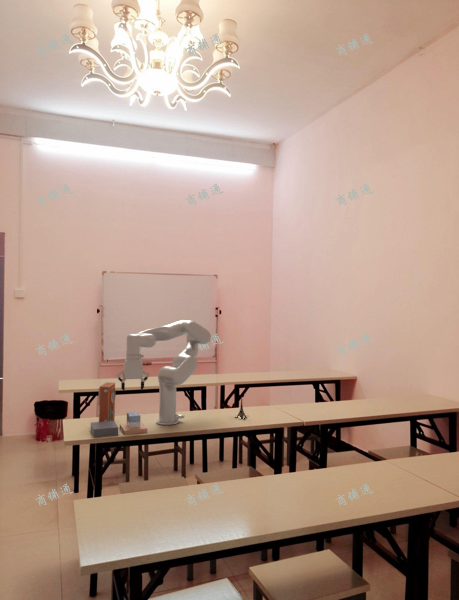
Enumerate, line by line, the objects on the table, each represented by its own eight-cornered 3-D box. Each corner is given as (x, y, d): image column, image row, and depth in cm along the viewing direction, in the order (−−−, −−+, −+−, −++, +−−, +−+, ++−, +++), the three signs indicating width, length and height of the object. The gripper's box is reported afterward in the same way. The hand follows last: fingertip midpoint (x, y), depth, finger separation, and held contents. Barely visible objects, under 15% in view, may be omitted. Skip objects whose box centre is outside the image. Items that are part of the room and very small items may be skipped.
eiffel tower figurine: (252, 416, 283) (252, 394, 283) (255, 420, 272) (255, 397, 273) (228, 417, 281) (228, 394, 281) (230, 421, 271) (230, 398, 271)
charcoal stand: (113, 428, 250) (114, 420, 250) (118, 435, 237) (118, 427, 237) (90, 430, 245) (90, 422, 245) (93, 437, 233) (93, 429, 233)
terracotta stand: (141, 425, 256) (141, 422, 256) (147, 432, 243) (147, 428, 243) (119, 427, 251) (119, 423, 251) (124, 434, 238) (124, 430, 238)
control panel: (116, 419, 269) (109, 426, 254) (104, 419, 269) (96, 426, 254) (117, 382, 269) (109, 386, 254) (104, 382, 269) (97, 386, 254)
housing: (136, 423, 252) (137, 411, 252) (140, 427, 244) (140, 415, 244) (126, 424, 250) (126, 412, 250) (129, 428, 242) (129, 416, 242)
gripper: (148, 356, 254) (147, 387, 254) (116, 356, 248) (115, 389, 248) (151, 357, 247) (150, 390, 247) (117, 358, 241) (116, 391, 241)
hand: (132, 389), depth 247 cm, fingers open, 9 cm apart
